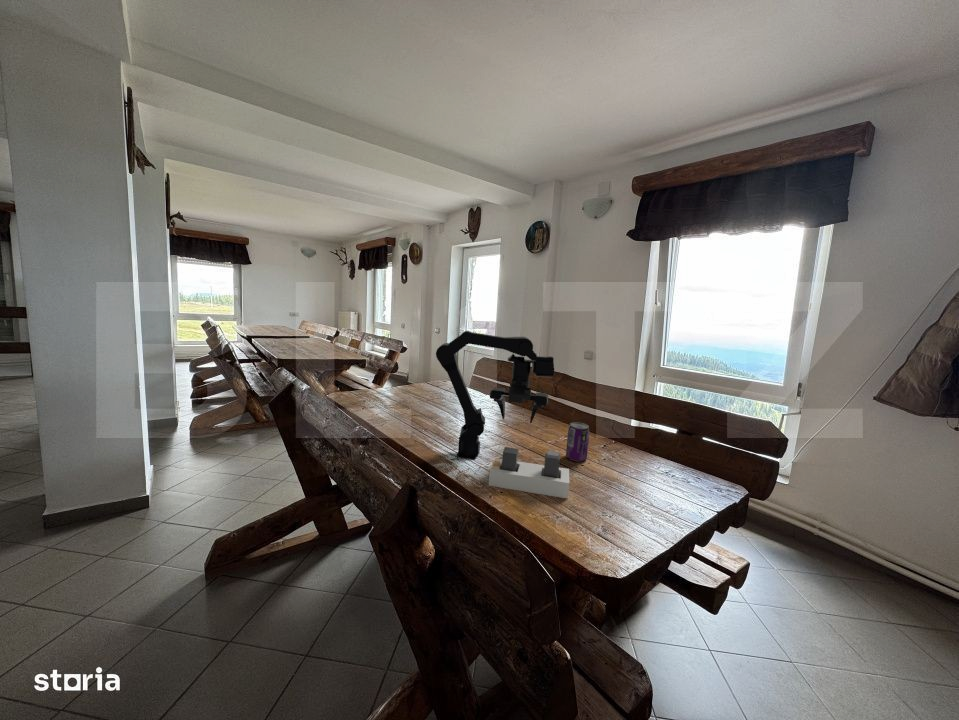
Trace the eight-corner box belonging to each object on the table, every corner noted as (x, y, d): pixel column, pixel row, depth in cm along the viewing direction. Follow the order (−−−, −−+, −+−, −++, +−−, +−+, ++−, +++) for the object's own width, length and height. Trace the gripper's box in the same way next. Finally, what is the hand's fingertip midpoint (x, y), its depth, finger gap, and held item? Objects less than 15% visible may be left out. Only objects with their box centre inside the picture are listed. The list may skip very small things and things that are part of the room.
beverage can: (587, 464, 122) (591, 429, 120) (565, 461, 124) (569, 427, 122) (585, 455, 129) (589, 423, 127) (565, 453, 130) (568, 420, 129)
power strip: (488, 485, 104) (490, 453, 103) (494, 471, 113) (496, 442, 111) (567, 498, 99) (571, 465, 98) (567, 483, 108) (570, 452, 107)
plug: (542, 484, 103) (545, 454, 102) (543, 478, 107) (546, 449, 106) (557, 487, 102) (559, 456, 101) (557, 480, 106) (560, 451, 105)
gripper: (487, 376, 114) (484, 424, 117) (547, 383, 110) (543, 433, 112) (495, 370, 125) (491, 414, 127) (550, 376, 121) (545, 422, 123)
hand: (517, 421), depth 122 cm, fingers open, 9 cm apart
